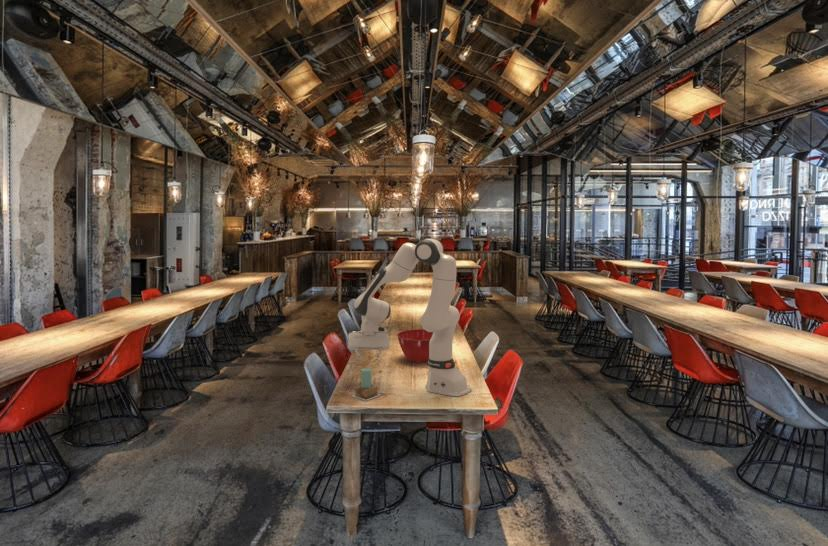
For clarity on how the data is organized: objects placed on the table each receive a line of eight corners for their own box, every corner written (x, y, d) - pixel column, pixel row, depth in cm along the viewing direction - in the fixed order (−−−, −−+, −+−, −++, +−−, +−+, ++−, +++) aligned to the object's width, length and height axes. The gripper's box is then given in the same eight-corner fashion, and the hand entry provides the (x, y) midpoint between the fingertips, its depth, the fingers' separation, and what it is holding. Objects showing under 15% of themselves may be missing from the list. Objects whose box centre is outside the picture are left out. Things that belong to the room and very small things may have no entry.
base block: (377, 395, 228) (377, 386, 228) (366, 399, 223) (366, 390, 222) (366, 391, 233) (366, 383, 232) (355, 395, 227) (355, 387, 227)
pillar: (371, 385, 229) (371, 368, 229) (370, 388, 225) (370, 371, 225) (362, 385, 229) (362, 368, 229) (361, 388, 225) (361, 371, 225)
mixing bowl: (396, 367, 274) (396, 339, 272) (397, 353, 302) (397, 328, 301) (447, 366, 274) (448, 339, 273) (444, 353, 303) (444, 328, 301)
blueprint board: (385, 395, 228) (385, 394, 228) (365, 402, 219) (365, 401, 219) (366, 389, 236) (366, 389, 236) (347, 396, 227) (347, 395, 227)
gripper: (348, 328, 244) (346, 354, 236) (389, 328, 244) (389, 354, 237) (349, 334, 249) (347, 359, 241) (390, 334, 250) (389, 360, 242)
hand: (368, 357), depth 239 cm, fingers open, 8 cm apart
